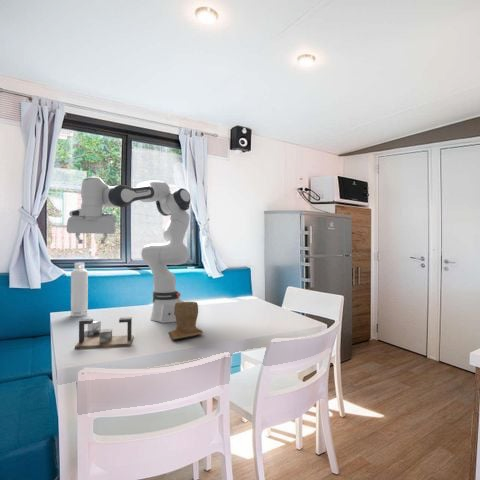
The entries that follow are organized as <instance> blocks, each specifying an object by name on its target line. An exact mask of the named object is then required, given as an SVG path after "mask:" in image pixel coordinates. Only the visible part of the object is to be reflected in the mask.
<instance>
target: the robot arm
mask: <svg viewBox="0 0 480 480" xmlns="http://www.w3.org/2000/svg"><path fill="white" fill-rule="evenodd" d="M170 189H171V188H170V186H169V185H168V184H167V182H165V181H162V180H148V181H143V182H140V183H138V184H137V186H136V187H134V186H133V187H131V186H128V185H125V184H118V185H113V186H110V185H108V184H107V183H105V182H104V181H103V180H102V178H101V177H97V176H95V177H94V176H93V177H86V178H84V179H83V180H82V182H81V190H80V196H81V204H80V208H78V209H74V210H71V211H69V213H68V215H69V216H70V217H68V219H67V222H66V232H67V233H68V234H75V237H76V239H77V240H78V241H77V244H79V245H81V244H83V243H84V242H83V241H84V240H83V239H81V238H80V236H81V234H103V238H102V239H100V244H101V245H102V244H103V245H105V244H106V239H107V238H108V235H110V234H112V235H113V234H116V232H117V230H116V222H117V216H116V215H115V214H113V213H107V212H105V213H104V212H103V208H118V207H119V208H126V207H129V206H130V205H131V204H132V203H134V202H137V201H141V202H142V203H153V202H155V205H156V208H157V211H158V212H159V214H160V215H161V216H165V217H167V216H168V217H169V216H170V218H169V220H168V222H167V224H166V226H165V228H164V231H163V234H162V235H163V238H164V240H165V241H166V243H164V242H163V243H160V242H159V243H157V242H155V243H154V242H153V243H149V244H145V245H144V246H143V247H142V249H141V253H140V254H141V258H142V261H143V262H145V263H146V264H147V265H148V267H149V269H150V270H151V273H152V277H153V292H152V303H153V304H152V310H151V315H150V317H149V318H150V320H151V321H153V322H159V323H163V324H164V323H175V322H176V316H175V312H174V307H175V303H176V302H185V301H184V300H182V299H181V298H180V297H181V293H180V292H179V291H177V289H176V287H177V286H176V279H177V278H176V274H174V273H173V272H171V271H170V270H169V269H168V266H167V265H170V266H178V265H183V264H186V263H187V262H188V260H189V257H190V252H189V249H188V247H187V246H186V245H185V244H184V239H185V236H186V234H187V230H188V228H189V224H190V214H189V213H188V212H187V210H189V209H190V204H191V201H192V200H191V195H190V192H189V191H188V190H187V189H186V188H176V189H175V190H174V191H171V190H170ZM176 323H177V322H176Z"/></svg>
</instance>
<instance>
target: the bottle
mask: <svg viewBox="0 0 480 480" xmlns="http://www.w3.org/2000/svg"><path fill="white" fill-rule="evenodd" d="M88 277H89V272H88V270H87V269H85V262H84V261H83V262H82V261H81V262H80V261H79V262H74V269H73V270H71V272H70V316H71V317H74V316H79V317H83V316H84V317H85V316H88V314H89V313H88V310H89V309H88V308H89V307H88V306H89V305H88V304H89V303H88V302H89V298H88V297H89V296H88V294H89V292H88V291H89V290H88V289H89V283H88V282H89V278H88Z"/></svg>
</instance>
